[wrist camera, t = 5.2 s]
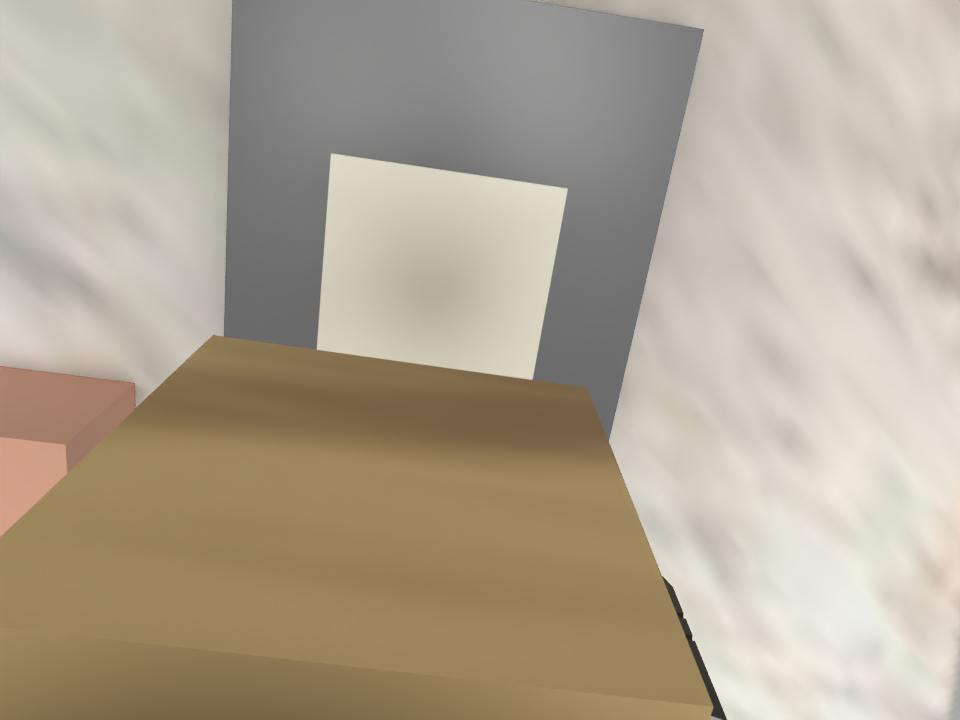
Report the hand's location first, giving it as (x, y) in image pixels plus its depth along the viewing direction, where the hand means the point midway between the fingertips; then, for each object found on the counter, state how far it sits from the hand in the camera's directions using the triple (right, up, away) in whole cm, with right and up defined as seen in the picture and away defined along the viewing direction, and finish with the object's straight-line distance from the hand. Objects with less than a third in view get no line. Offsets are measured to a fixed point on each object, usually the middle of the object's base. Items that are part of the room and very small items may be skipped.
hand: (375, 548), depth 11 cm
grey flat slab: (0, +6, +15) cm, 16 cm away
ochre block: (0, 0, +1) cm, 1 cm away
